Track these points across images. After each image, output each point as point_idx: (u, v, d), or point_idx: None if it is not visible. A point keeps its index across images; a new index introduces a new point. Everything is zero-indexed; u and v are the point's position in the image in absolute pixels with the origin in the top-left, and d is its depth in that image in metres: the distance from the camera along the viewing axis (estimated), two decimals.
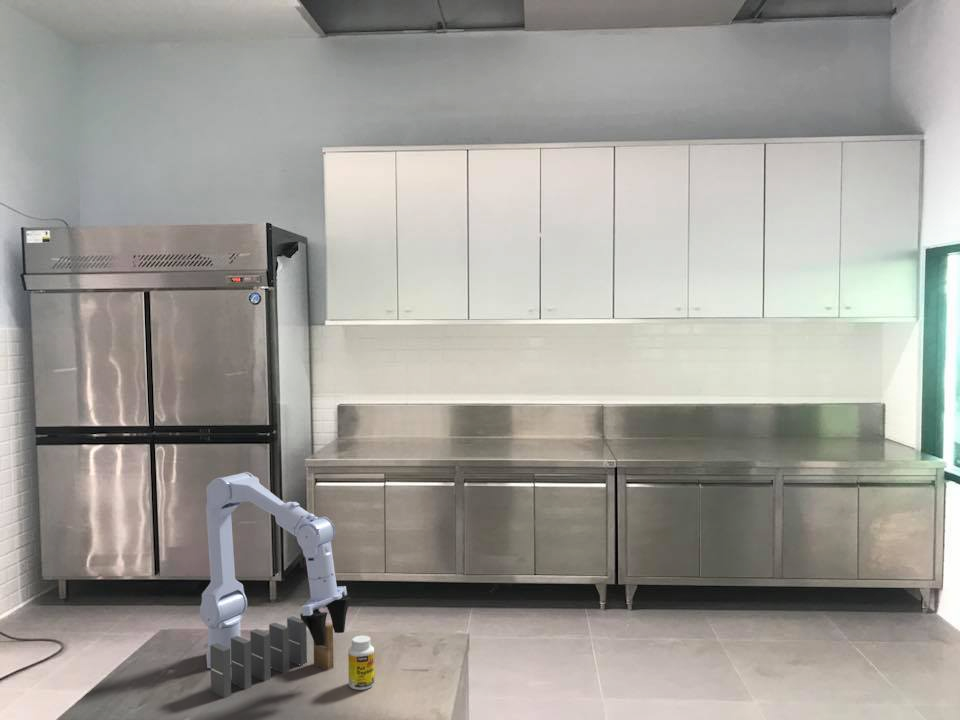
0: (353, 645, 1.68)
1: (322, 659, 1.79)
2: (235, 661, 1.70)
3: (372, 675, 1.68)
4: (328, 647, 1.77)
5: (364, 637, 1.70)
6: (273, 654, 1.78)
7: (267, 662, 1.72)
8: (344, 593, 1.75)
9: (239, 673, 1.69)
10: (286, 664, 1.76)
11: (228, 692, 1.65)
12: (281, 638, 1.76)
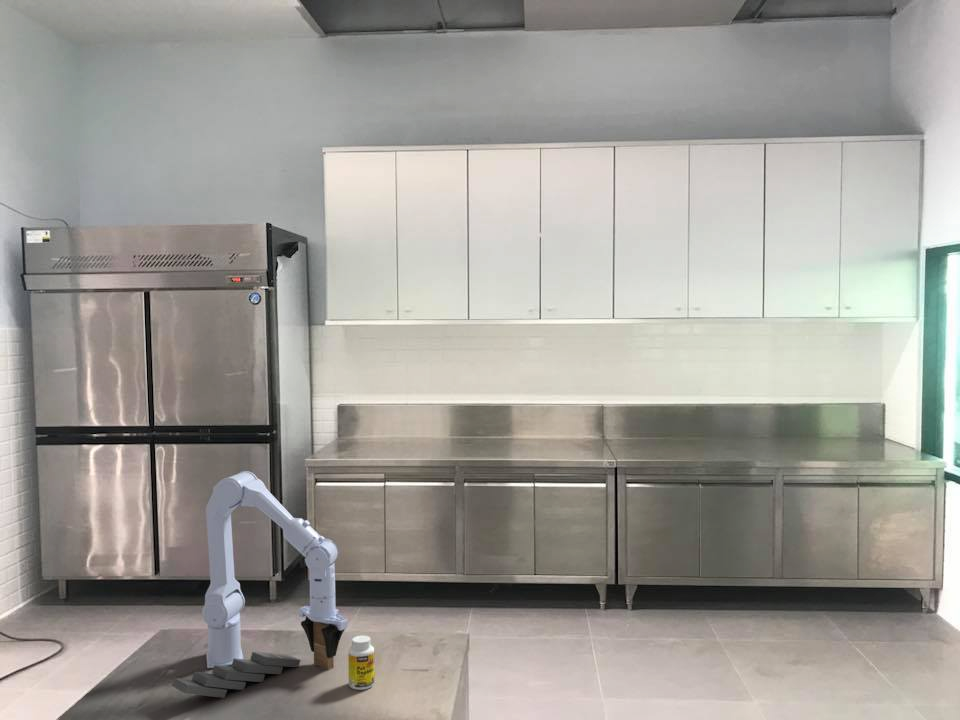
0: (353, 645, 1.68)
1: (322, 659, 1.79)
2: None
3: (372, 675, 1.68)
4: None
5: (364, 637, 1.70)
6: None
7: (249, 677, 1.69)
8: None
9: None
10: (276, 669, 1.74)
11: (223, 692, 1.64)
12: None
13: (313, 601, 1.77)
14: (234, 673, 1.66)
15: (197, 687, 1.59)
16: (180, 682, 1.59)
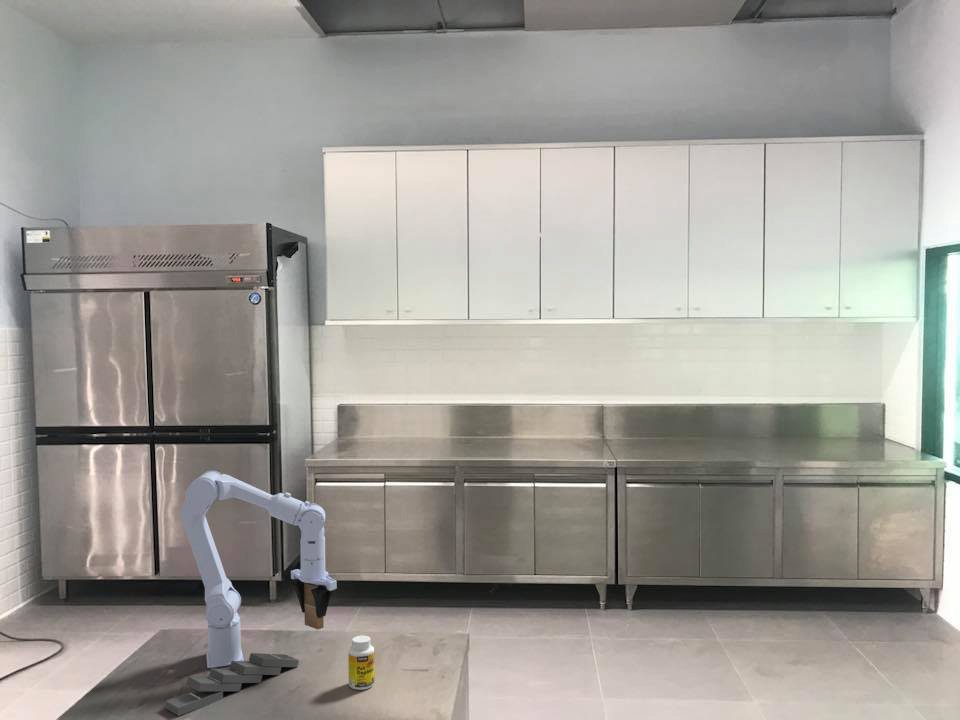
0: (353, 645, 1.68)
1: (312, 619, 1.84)
2: None
3: (372, 675, 1.68)
4: None
5: (364, 637, 1.70)
6: None
7: (246, 679, 1.68)
8: None
9: None
10: (274, 670, 1.74)
11: (219, 695, 1.63)
12: None
13: (304, 562, 1.82)
14: (231, 676, 1.65)
15: (190, 705, 1.58)
16: (171, 705, 1.58)
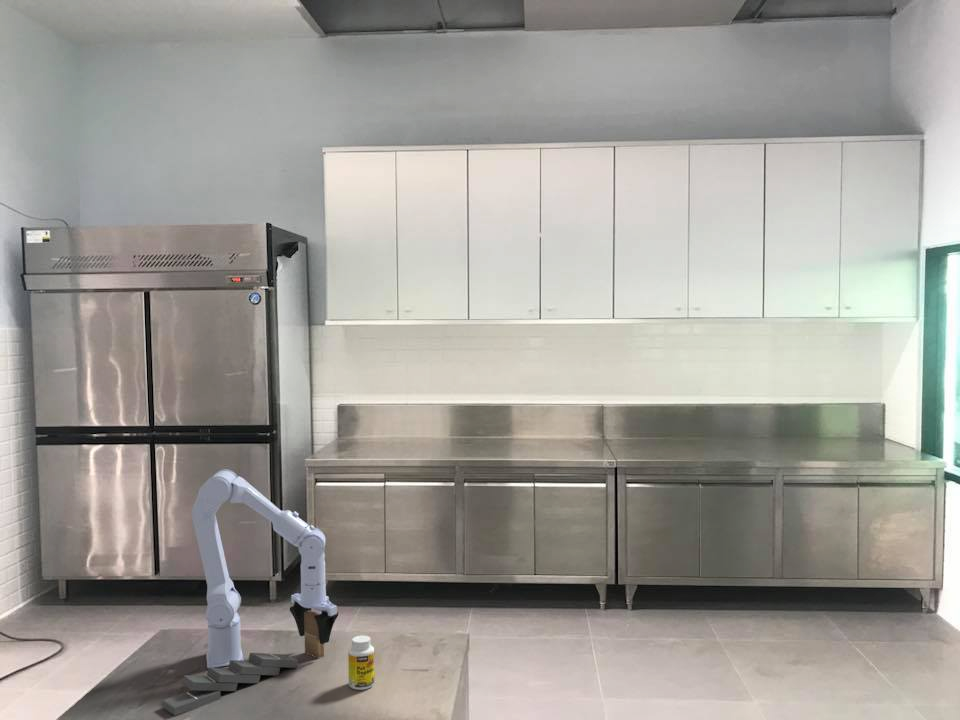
0: (353, 645, 1.68)
1: (313, 648, 1.85)
2: None
3: (372, 675, 1.68)
4: (318, 636, 1.84)
5: (364, 637, 1.70)
6: None
7: (244, 679, 1.68)
8: None
9: None
10: (273, 670, 1.74)
11: (216, 696, 1.63)
12: None
13: (304, 587, 1.83)
14: (227, 675, 1.66)
15: (186, 705, 1.58)
16: (168, 705, 1.58)
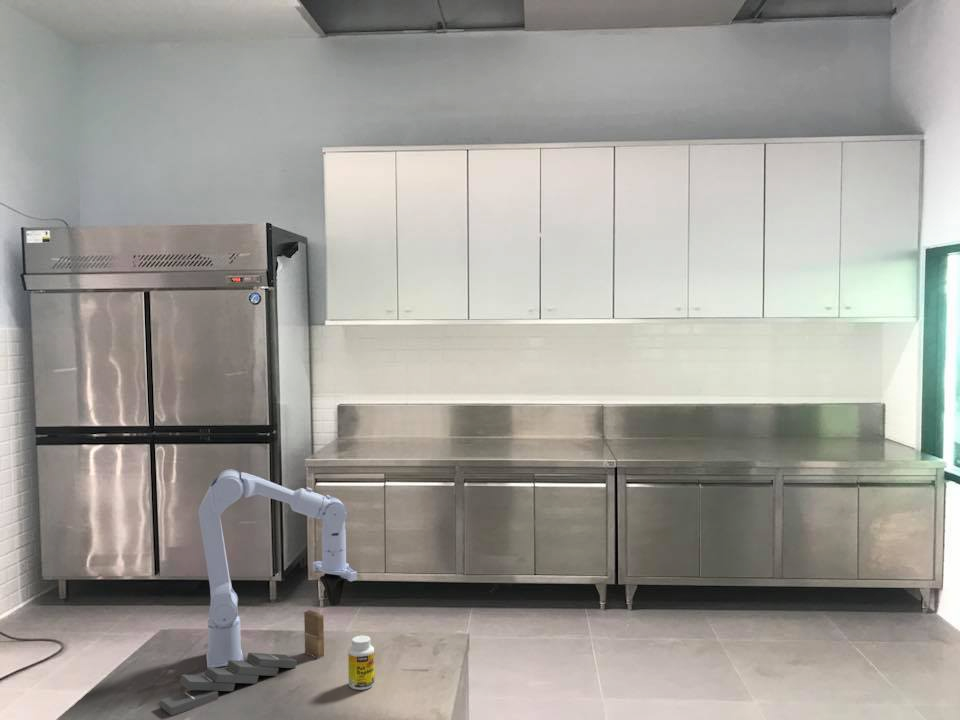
0: (353, 645, 1.68)
1: (313, 648, 1.85)
2: None
3: (372, 675, 1.68)
4: (319, 636, 1.84)
5: (364, 637, 1.70)
6: None
7: (242, 679, 1.68)
8: None
9: None
10: (271, 671, 1.74)
11: (214, 696, 1.63)
12: None
13: (325, 554, 1.88)
14: (225, 676, 1.66)
15: (183, 705, 1.58)
16: (165, 704, 1.58)
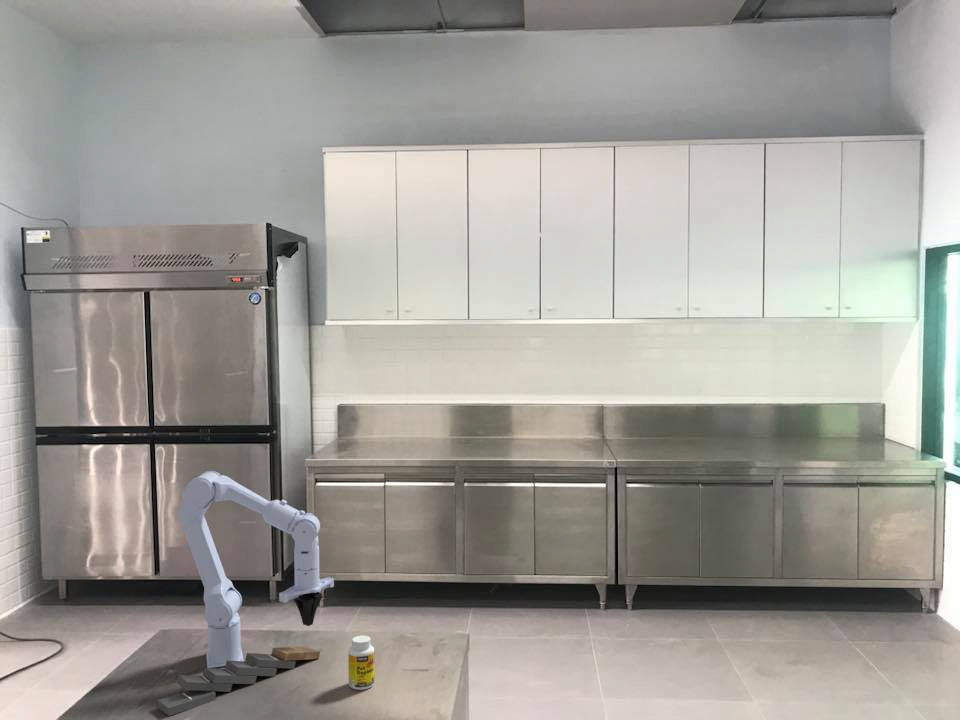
0: (353, 645, 1.68)
1: None
2: None
3: (372, 675, 1.68)
4: (301, 658, 1.80)
5: (364, 637, 1.70)
6: None
7: (240, 680, 1.68)
8: (330, 585, 1.88)
9: None
10: (269, 671, 1.73)
11: (211, 696, 1.63)
12: None
13: None
14: (223, 676, 1.65)
15: (180, 705, 1.58)
16: (163, 705, 1.58)
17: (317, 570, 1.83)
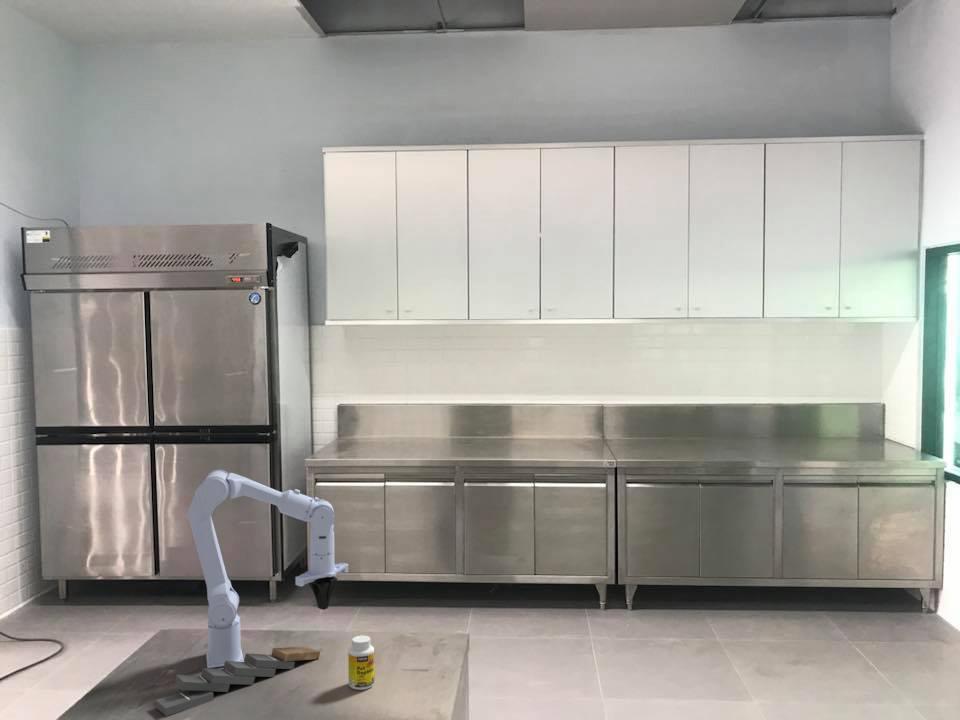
0: (353, 645, 1.68)
1: None
2: None
3: (372, 675, 1.68)
4: (301, 658, 1.80)
5: (364, 637, 1.70)
6: None
7: (238, 680, 1.68)
8: (345, 570, 1.92)
9: None
10: (268, 672, 1.73)
11: (209, 697, 1.63)
12: None
13: None
14: (221, 677, 1.65)
15: (178, 705, 1.58)
16: (160, 705, 1.58)
17: (332, 555, 1.87)
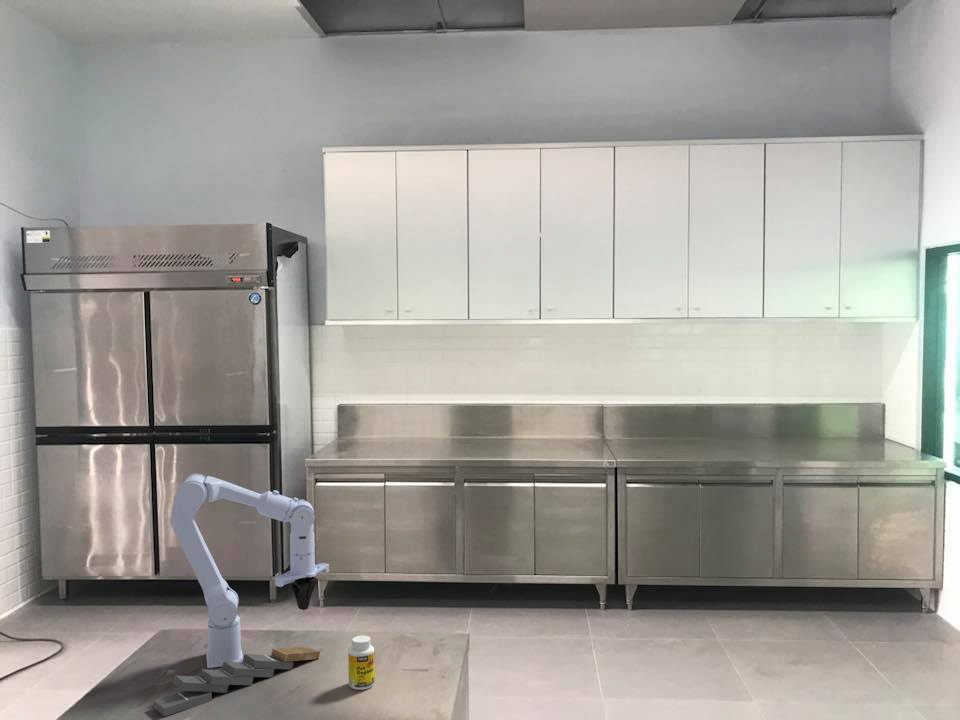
0: (353, 645, 1.68)
1: None
2: None
3: (372, 675, 1.68)
4: (301, 659, 1.80)
5: (364, 637, 1.70)
6: None
7: (236, 681, 1.67)
8: (326, 570, 1.92)
9: None
10: (266, 672, 1.73)
11: (208, 697, 1.63)
12: None
13: None
14: (220, 678, 1.65)
15: (176, 705, 1.58)
16: (158, 705, 1.58)
17: (312, 555, 1.86)
